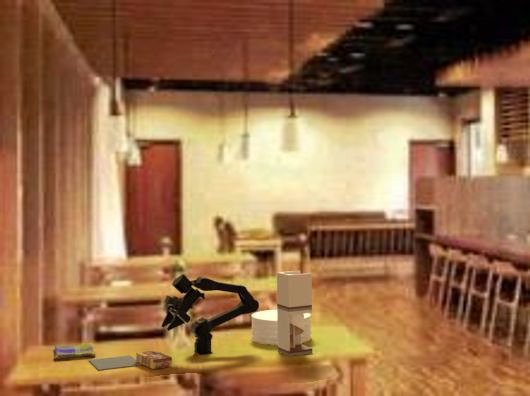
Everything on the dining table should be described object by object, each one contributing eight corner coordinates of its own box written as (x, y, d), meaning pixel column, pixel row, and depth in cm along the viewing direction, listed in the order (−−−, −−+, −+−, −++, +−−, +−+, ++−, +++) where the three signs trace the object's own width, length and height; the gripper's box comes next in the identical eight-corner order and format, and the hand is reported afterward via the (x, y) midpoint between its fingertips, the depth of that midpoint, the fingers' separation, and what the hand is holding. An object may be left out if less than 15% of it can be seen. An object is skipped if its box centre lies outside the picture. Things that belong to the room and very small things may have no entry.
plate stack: (312, 345, 361) (311, 320, 361) (250, 345, 362) (250, 320, 361) (309, 332, 389) (309, 309, 389) (252, 333, 390) (252, 309, 389)
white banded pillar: (289, 356, 340) (288, 275, 338) (277, 351, 349) (276, 272, 348) (312, 353, 345) (311, 273, 344) (300, 348, 354) (299, 270, 353)
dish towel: (93, 347, 364) (93, 341, 364) (95, 359, 341) (95, 353, 341) (54, 349, 360) (54, 343, 360) (53, 362, 336) (53, 355, 336)
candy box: (135, 362, 332) (152, 369, 319) (135, 352, 332) (152, 358, 319) (154, 360, 337) (172, 367, 324) (155, 350, 337) (172, 356, 324)
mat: (130, 356, 344) (130, 355, 344) (141, 365, 327) (141, 364, 327) (88, 360, 336) (88, 360, 336) (98, 370, 320) (98, 369, 320)
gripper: (169, 285, 350) (145, 313, 346) (182, 291, 334) (158, 320, 329) (186, 301, 354) (163, 329, 350) (200, 308, 337) (176, 336, 333)
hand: (164, 328), depth 340 cm, fingers open, 8 cm apart
